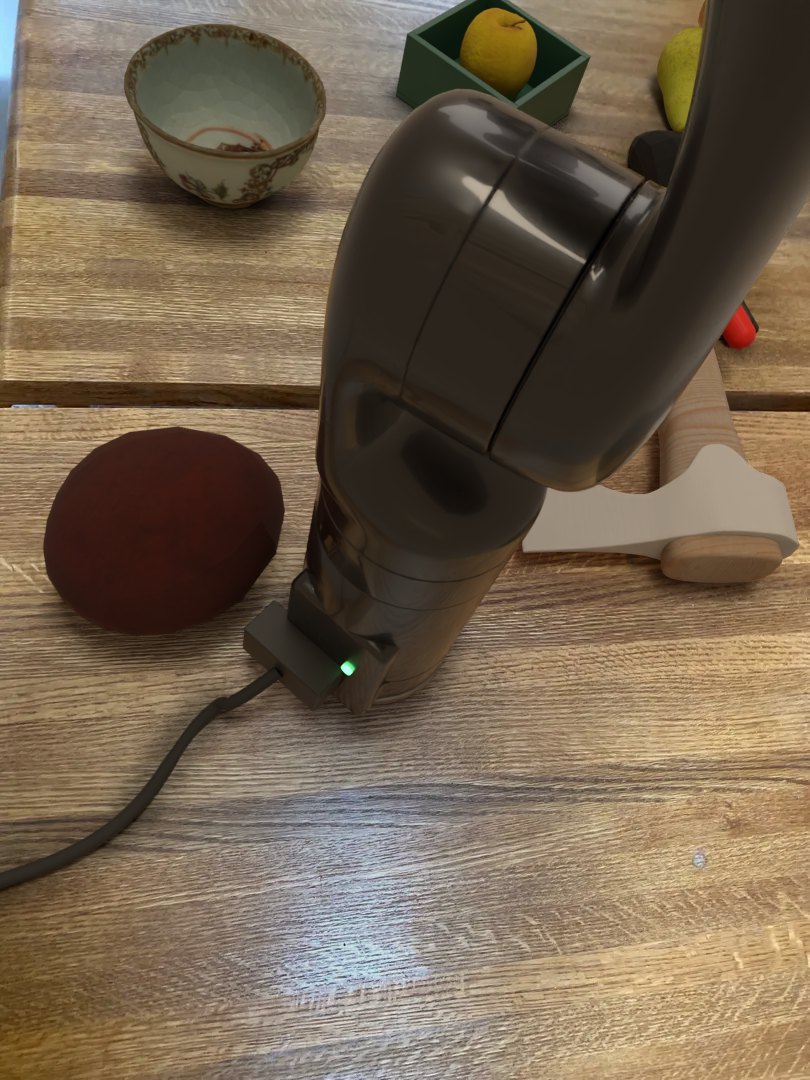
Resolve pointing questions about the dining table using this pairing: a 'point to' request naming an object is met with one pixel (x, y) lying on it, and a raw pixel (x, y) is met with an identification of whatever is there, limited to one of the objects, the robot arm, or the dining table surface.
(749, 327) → the toy gun
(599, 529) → the axe
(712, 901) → the dining table surface
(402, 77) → the bin
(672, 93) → the fruit
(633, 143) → the gaming mouse
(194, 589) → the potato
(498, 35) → the apple
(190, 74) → the bowl
